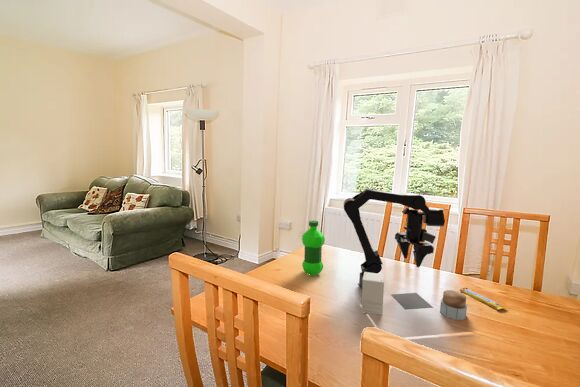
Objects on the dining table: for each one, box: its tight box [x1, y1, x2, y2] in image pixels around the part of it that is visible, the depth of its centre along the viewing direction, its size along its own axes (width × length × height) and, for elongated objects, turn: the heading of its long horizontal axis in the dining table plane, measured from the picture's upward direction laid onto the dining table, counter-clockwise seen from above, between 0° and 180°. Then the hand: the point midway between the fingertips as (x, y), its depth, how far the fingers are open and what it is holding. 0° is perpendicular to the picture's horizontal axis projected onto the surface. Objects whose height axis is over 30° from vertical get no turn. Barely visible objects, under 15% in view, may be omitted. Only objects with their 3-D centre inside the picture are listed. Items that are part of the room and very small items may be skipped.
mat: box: [390, 292, 434, 310], centre depth 110 cm, size 11×11×1 cm
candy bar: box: [459, 287, 506, 310], centre depth 112 cm, size 17×4×2 cm, turn 20°
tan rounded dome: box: [442, 289, 467, 308], centre depth 101 cm, size 7×7×3 cm
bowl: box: [439, 297, 468, 321], centre depth 101 cm, size 8×8×4 cm
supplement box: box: [361, 272, 385, 316], centre depth 104 cm, size 7×7×13 cm
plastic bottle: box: [301, 220, 326, 276], centre depth 133 cm, size 10×10×25 cm
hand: (411, 262), depth 116 cm, fingers open, 9 cm apart
